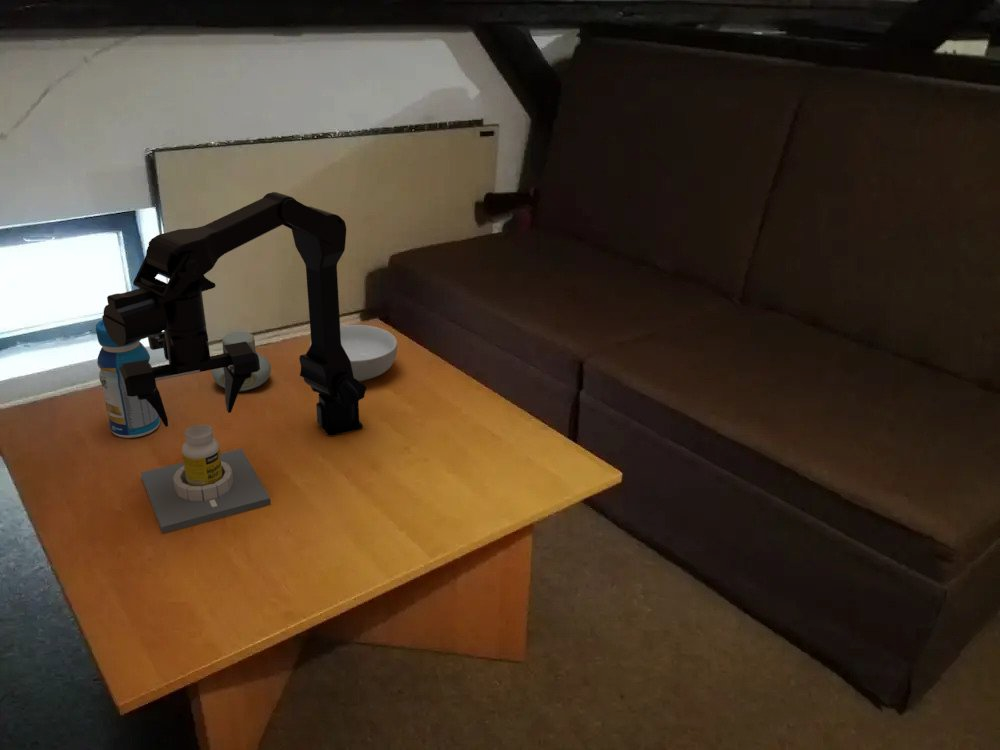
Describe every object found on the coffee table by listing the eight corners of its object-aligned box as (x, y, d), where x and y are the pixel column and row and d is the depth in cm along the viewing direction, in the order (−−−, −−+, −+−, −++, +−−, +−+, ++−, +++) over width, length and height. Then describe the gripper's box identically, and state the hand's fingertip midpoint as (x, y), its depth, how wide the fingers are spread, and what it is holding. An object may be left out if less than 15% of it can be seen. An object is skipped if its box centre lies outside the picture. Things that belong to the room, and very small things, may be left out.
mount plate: (242, 454, 146) (240, 438, 144) (270, 504, 134) (269, 487, 132) (141, 478, 138) (138, 461, 137) (162, 533, 126) (159, 515, 125)
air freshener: (274, 373, 173) (269, 327, 168) (270, 393, 165) (265, 345, 161) (217, 375, 171) (211, 328, 166) (210, 395, 164) (204, 347, 159)
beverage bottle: (153, 439, 149) (135, 333, 140) (102, 439, 148) (81, 332, 139) (167, 415, 156) (151, 312, 147) (118, 415, 156) (99, 312, 147)
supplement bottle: (213, 497, 133) (205, 442, 128) (180, 491, 134) (171, 437, 129) (229, 477, 137) (223, 424, 133) (198, 473, 138) (190, 419, 134)
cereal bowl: (314, 396, 165) (312, 362, 162) (309, 358, 179) (307, 327, 176) (403, 389, 169) (402, 356, 166) (391, 352, 183) (391, 321, 180)
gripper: (235, 293, 134) (245, 383, 141) (105, 314, 125) (122, 408, 133) (256, 319, 126) (265, 413, 133) (118, 343, 117) (136, 442, 124)
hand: (198, 418), depth 131 cm, fingers open, 9 cm apart
